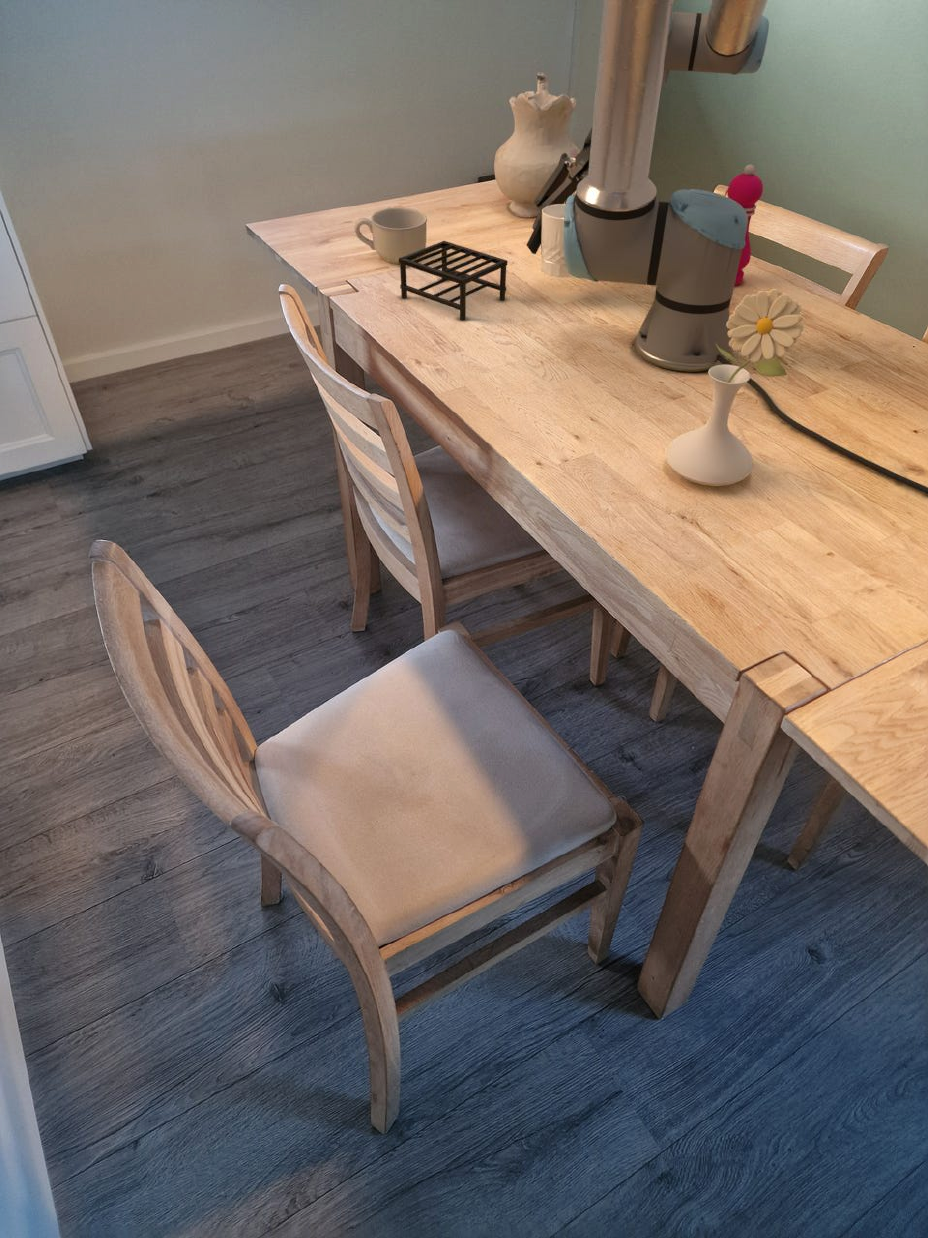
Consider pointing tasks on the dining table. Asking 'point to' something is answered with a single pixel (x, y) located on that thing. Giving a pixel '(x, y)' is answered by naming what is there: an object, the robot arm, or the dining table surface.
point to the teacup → (395, 232)
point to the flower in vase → (737, 388)
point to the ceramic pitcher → (534, 146)
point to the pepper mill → (746, 194)
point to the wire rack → (452, 273)
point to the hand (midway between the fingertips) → (550, 255)
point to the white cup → (553, 241)
